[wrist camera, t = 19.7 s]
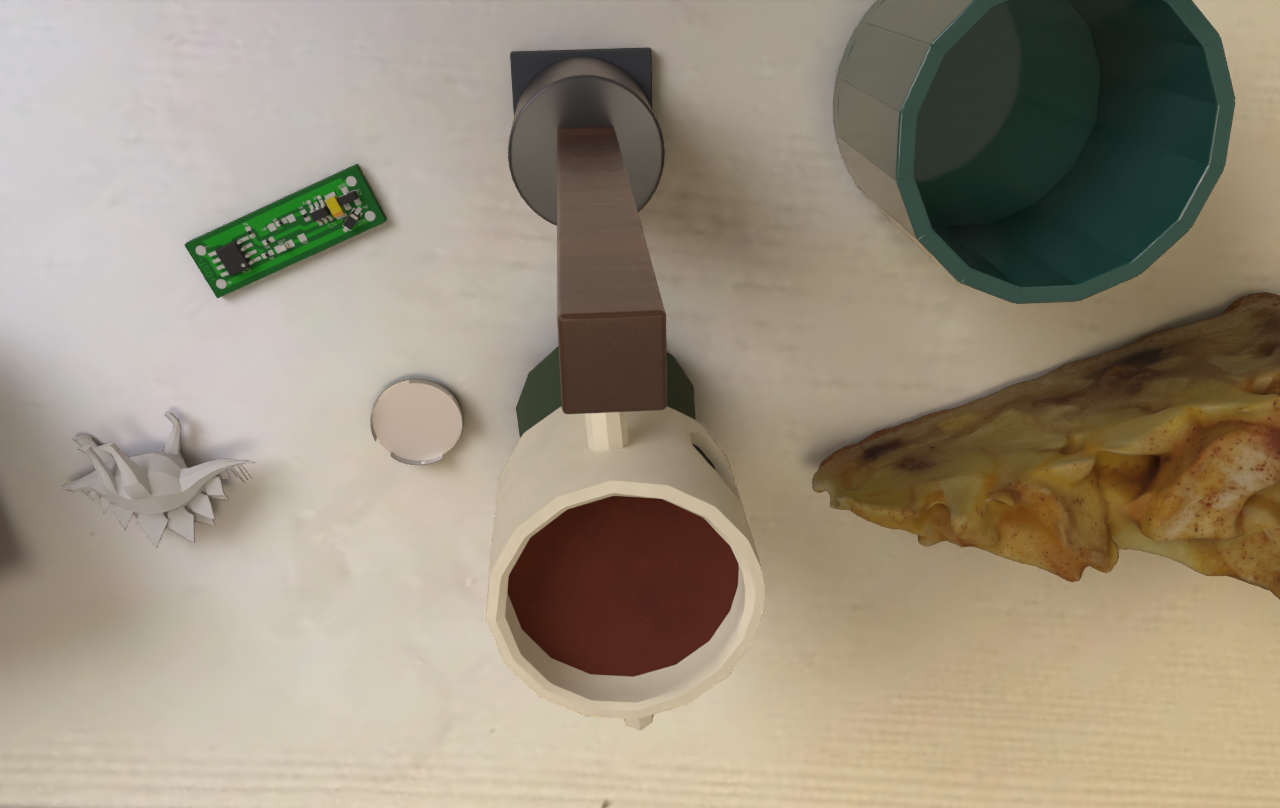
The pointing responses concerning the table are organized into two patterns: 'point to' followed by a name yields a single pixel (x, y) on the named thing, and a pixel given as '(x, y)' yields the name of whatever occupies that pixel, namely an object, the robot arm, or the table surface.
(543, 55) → the mat
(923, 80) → the cup
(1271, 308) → the pie slice
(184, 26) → the table surface
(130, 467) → the stegosaurus
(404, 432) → the grey round disc
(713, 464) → the character mug
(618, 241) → the brown post with base
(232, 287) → the green pcb module
